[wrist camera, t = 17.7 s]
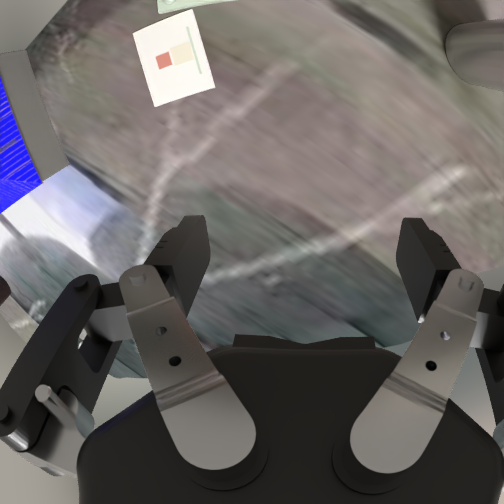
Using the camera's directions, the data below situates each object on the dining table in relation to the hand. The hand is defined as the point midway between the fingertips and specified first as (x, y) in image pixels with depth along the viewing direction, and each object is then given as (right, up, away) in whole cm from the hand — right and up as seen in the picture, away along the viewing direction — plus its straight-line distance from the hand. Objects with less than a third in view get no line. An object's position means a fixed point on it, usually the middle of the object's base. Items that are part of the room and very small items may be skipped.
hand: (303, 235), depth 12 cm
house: (-44, +23, +29) cm, 58 cm away
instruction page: (-13, +25, +22) cm, 36 cm away
